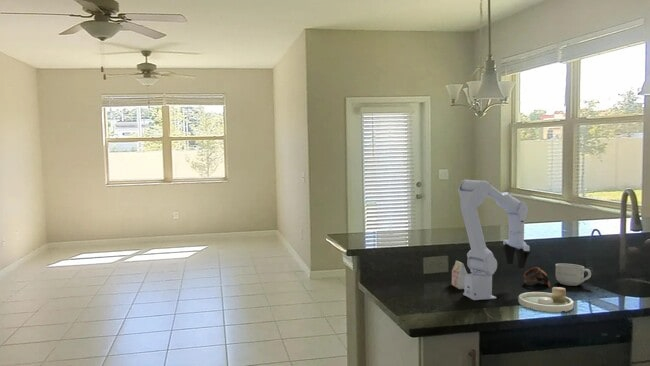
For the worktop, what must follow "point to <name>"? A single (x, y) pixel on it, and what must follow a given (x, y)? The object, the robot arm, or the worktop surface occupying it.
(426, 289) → the worktop surface
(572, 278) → the teacup
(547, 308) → the groove tray
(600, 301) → the worktop surface
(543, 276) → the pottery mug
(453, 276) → the white rectangular block
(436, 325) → the worktop surface
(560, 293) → the maple bead
